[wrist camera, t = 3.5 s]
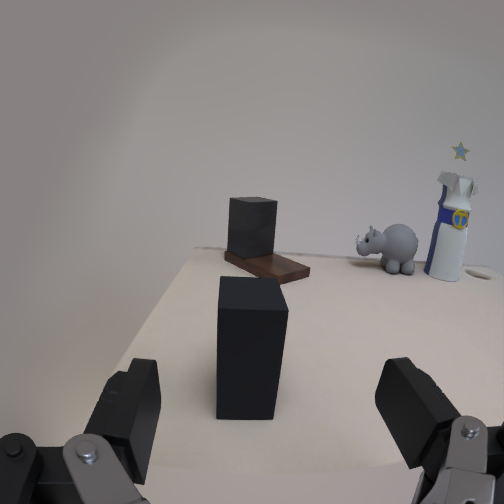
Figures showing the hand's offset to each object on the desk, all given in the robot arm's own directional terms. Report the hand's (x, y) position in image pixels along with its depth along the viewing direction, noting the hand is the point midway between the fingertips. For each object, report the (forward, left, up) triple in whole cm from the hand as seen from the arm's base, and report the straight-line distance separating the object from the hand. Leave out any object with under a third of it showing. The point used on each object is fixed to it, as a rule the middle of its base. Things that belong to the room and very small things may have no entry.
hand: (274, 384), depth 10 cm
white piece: (+23, +51, -10) cm, 57 cm away
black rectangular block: (-4, +10, -10) cm, 14 cm away
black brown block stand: (-10, +40, -10) cm, 42 cm away
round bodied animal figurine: (+10, +49, -10) cm, 51 cm away
